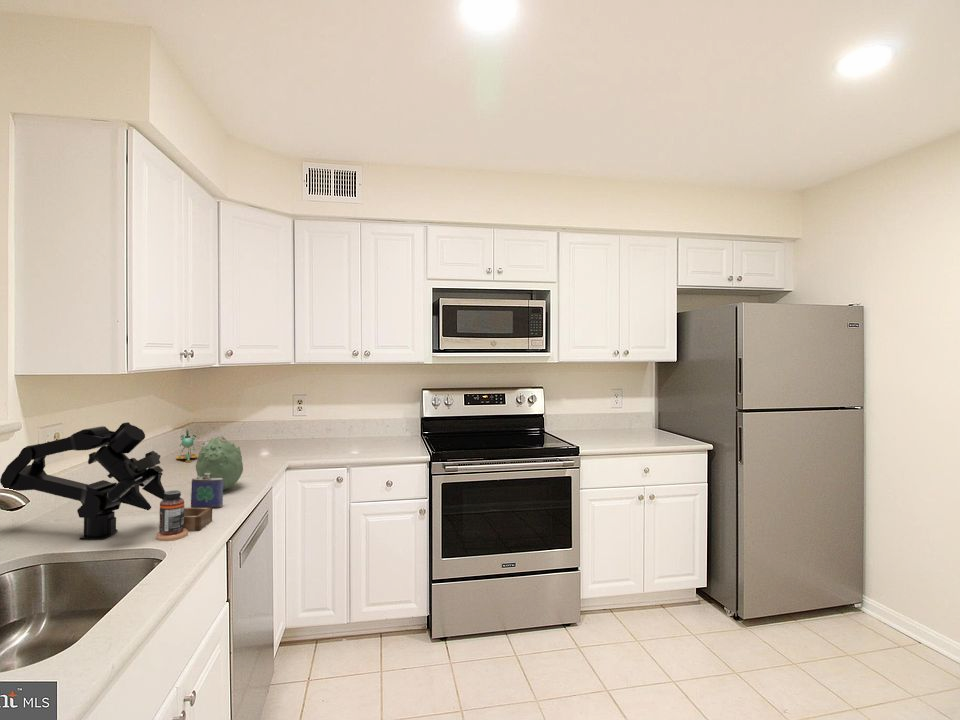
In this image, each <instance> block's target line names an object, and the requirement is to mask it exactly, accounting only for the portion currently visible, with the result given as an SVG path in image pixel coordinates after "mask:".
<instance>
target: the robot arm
mask: <svg viewBox="0 0 960 720" xmlns="http://www.w3.org/2000/svg"><path fill="white" fill-rule="evenodd" d="M145 438H146V434H145V431H144V430H143V429H141V428H140V427H138V426H136V425H133V424H131V423H130V422H127V421H126V422H122V423H121V424H120V425H119V427H118V428H117V429H116V430H114V431H113V430H109V428H107V426H104V425H101V426H96V427H90V428H84V429H81V430H79V431H77V432H74V433H72V434H71V435H70V436H68V437H64V438H60V439H56V440H52V441H47V442H43V443H36V444H32V445H27V446H25V447H23V448H22V449H21V451H20V452H19V454H18V455H17V456H16V457H15V458H14V459H13V460H12V461H10V463H9V464H8V465H7V466H6V467H5V469H4V471H3V472H2V473H1V475H0V476H1V477H0V485H1V486H2V488H3V487H4V488H9V489H13V490H16V491H17V492H21V491H38V492H42V493H44V494H50V495H53V496H56V497H57V496H58V497H61V498H66V499H70V500H74V501H77V502H80V503H81V506H80V507H79V508H78V509H77V510H76V511H77V515H78V518H82V519H83V535H81V536H80V537H79V539H80V540H104V539H107V538H108V537H111V536H112V535H114V534H115V533H117V532H118V531H119V529H118V528H117V517H116V516H115V513H116V510H119V509H120V506H121V504H126V505H130V506H132V507H136V508H139V509H143V510H146V511H150V510H151V509H152V505H151V504H150V502H149V501H148V500H147V499H146V498H145V497H144V495H143V494H142V493H141V491H140V487H142V490H143V491H145V492H147V493H149V494H151V495H152V496H154V497H156V498H159V499H161V501H162V500H163V499H164V493H165V492H166V490H165V488H164V487H163V484H162V476H163V472H164V469H163V468H162V467H160V465H159V464H161V461H160V458H161V454H159V453H158V452H156V451H155V450H151V451H149V452H147V453H145V455H144V456H145V457H143V458H140V459H136V458H135V457H131V458H129V457H128V456H127V454H130V453H132V451H133V450H134V449H135V448H137V446H138V445H140V444H141V443H142V442H143V441H144V440H145ZM98 448H99V449H98ZM95 449H97V450H96V451H93V452H91V453H89V454H88V461H87V464H88V465H92V464H94V463H96V462H97V463H99V464H100V466H102V467H103V469H105V471H106V472H108V474H107V475H106V477H108V478H109V479H111V478H114V479H115V480H116V481H117V482H110V481H108V480H105V479H102V480H99V481H95V482H92V483H84V482H79V481H76V480H75V481H74V480H71V479H66V478H63V477H59V476H56V475H51V474H47V472H46V471H45V470H44V469H45V467H46V457H47V456H52V455H54V454H60V453H65V452H68V451H90V450H95ZM31 461H32V463H31ZM4 488H3V489H4ZM13 490H12V491H13Z"/></svg>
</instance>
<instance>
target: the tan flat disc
mask: <svg viewBox="0 0 960 720" xmlns="http://www.w3.org/2000/svg"><path fill="white" fill-rule="evenodd" d="M188 532H189V531H188V530H187V529H185V528H184V529H183V531H182V532H180V533H178V534H173V535H162V534H160V532H159V531H157V533H156V534H155V539H156V540H157V541H161V542H169V541H175V540H180V539H182V538H185V537H187V536H188Z"/></svg>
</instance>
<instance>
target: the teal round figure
mask: <svg viewBox="0 0 960 720" xmlns="http://www.w3.org/2000/svg"><path fill="white" fill-rule="evenodd" d="M185 432H186V433H185V435H186V436H185V435H184V434H182V435H180V440H181V443H180V445H179V447H181V446H182V447H183V449H181V453H183V452H184V450H185V448H186V449H188V451H187V453H185V454H180V455H177V456H176V457H175V458H176V459H177V460H185V463H187V464H188V463H189V464H190V463H192V460H191V459H197V457H198V454H199V453H198V454H197V453H192V450H193V451H194V452H195V451H196V448H195V446H194V445H195V444H194V440H195V438H197V436H196V435H195V434H193V435H192V437H191V435H189V432H190V431H189V429H186V430H185ZM191 447H192V448H193V449H191Z"/></svg>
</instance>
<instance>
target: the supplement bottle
mask: <svg viewBox="0 0 960 720" xmlns="http://www.w3.org/2000/svg"><path fill="white" fill-rule="evenodd" d="M181 496H182V492H181V490H175V489H174V490H167V491H165V493H164V499H163V500H162V499H161V501H160V503H159V522H158V523H159V524H158V525H159V527H158V529H159V531H158V532H160V534H162V535H173V534H178V533H180V532H182V531H183V529H184V508H185V499H184V498H182V497H181Z"/></svg>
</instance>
